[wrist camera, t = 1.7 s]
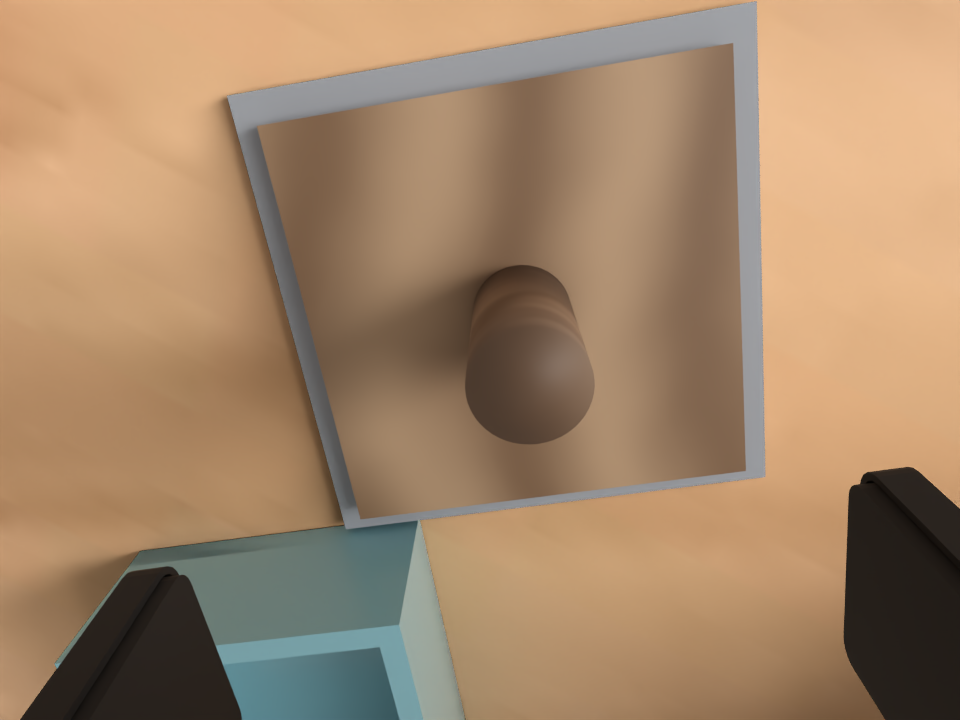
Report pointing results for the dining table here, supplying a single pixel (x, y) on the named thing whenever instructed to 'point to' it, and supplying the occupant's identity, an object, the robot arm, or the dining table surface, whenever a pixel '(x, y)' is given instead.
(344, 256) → the lid
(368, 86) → the mat
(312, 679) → the open box
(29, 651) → the dining table surface
